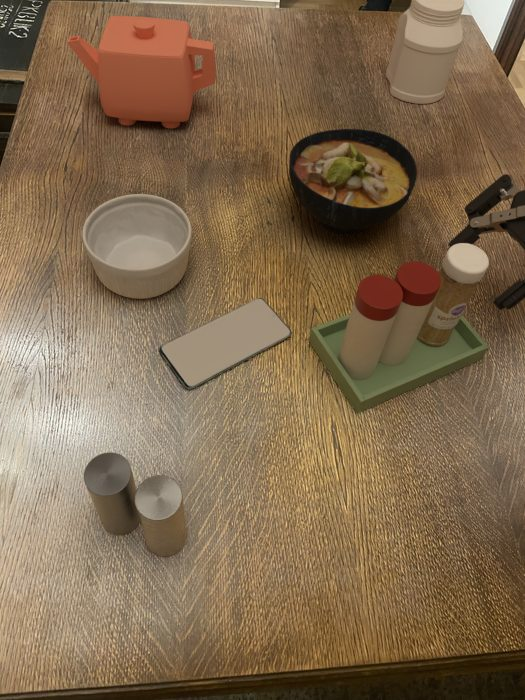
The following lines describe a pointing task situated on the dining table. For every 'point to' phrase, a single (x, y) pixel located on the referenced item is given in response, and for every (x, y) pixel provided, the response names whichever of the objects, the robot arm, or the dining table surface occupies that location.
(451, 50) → the jar
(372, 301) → the spice bottle
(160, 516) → the grey tin
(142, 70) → the teapot
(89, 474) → the grey tin
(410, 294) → the spice bottle
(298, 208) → the dining table surface
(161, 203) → the ramekin
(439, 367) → the tray
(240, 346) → the smartphone
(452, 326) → the sprinkles bottle
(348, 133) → the bowl
